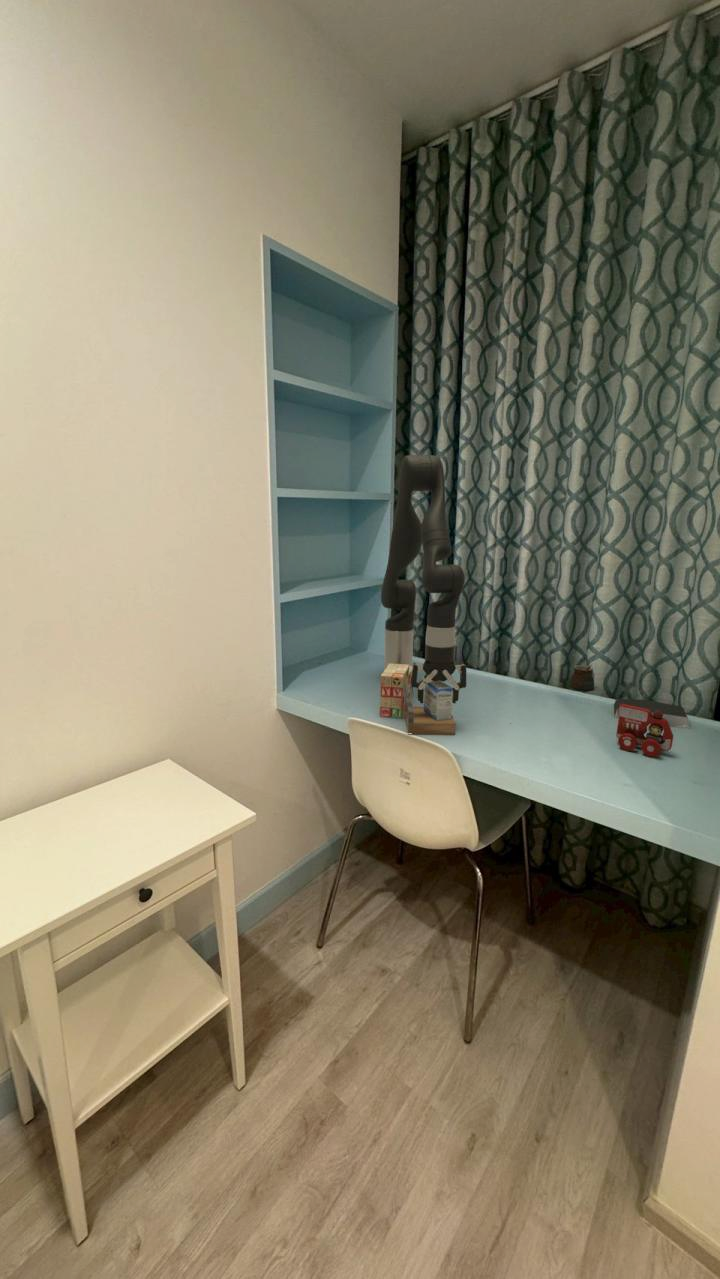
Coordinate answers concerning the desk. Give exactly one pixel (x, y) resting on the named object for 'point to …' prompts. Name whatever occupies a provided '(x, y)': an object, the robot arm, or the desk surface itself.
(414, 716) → the dock
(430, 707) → the medicine box
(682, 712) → the grey flat block
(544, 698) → the desk surface
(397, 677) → the stack of blocks
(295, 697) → the desk surface
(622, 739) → the toy fire truck
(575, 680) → the mate gourd
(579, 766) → the desk surface
